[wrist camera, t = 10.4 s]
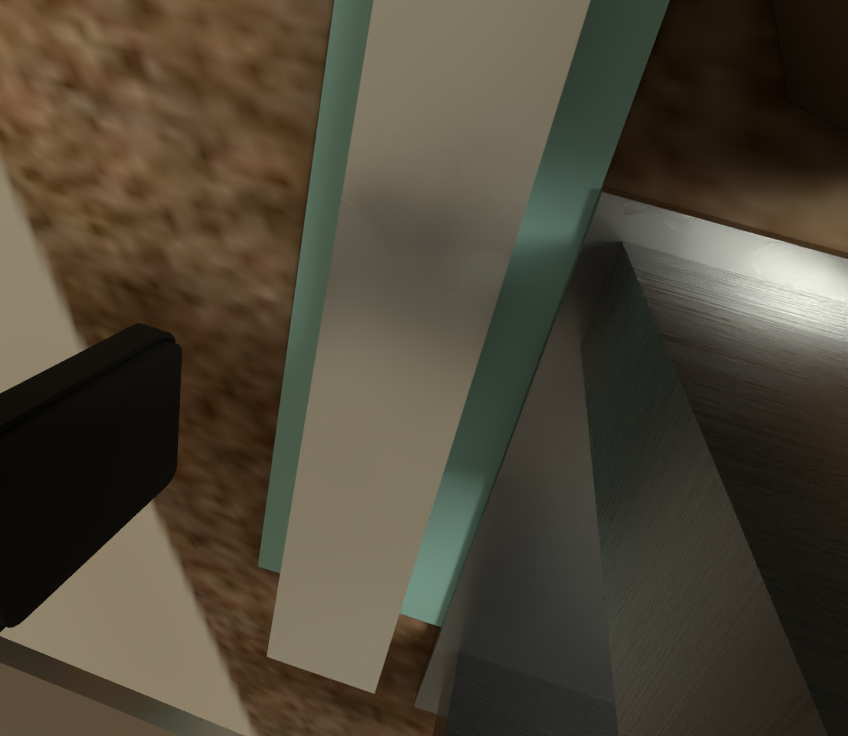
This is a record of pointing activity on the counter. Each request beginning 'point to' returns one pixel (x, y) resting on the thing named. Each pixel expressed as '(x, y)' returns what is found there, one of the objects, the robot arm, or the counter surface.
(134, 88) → the counter surface
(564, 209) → the mat
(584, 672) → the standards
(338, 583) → the rail
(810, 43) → the beer bottle
